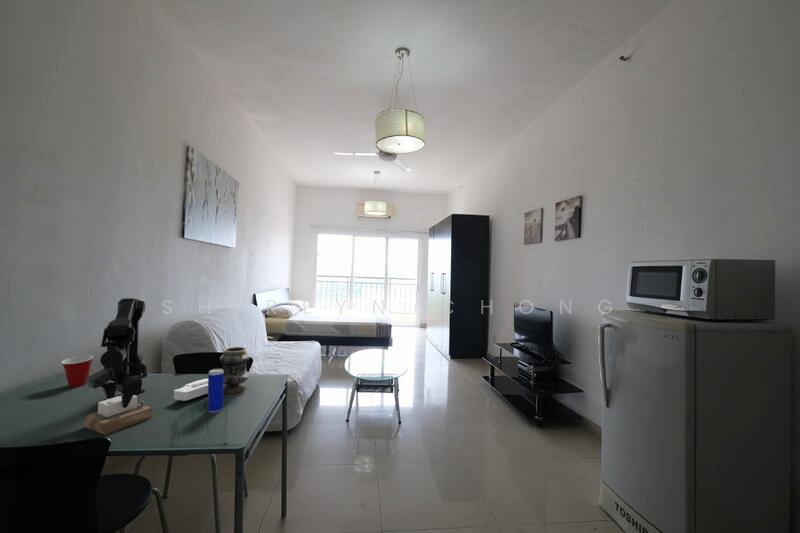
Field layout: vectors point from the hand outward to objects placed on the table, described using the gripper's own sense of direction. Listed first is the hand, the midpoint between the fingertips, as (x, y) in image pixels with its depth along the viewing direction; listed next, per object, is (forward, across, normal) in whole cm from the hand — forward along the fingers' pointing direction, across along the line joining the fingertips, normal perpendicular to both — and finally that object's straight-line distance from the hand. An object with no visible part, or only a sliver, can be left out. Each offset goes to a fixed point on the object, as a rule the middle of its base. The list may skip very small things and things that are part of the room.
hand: (117, 405), depth 118 cm
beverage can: (+6, +22, +22) cm, 31 cm away
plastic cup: (+6, -56, +11) cm, 57 cm away
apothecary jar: (+6, +10, +40) cm, 41 cm away
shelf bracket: (+3, -4, +30) cm, 30 cm away
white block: (+2, 0, 0) cm, 2 cm away
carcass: (+6, +2, 0) cm, 6 cm away
